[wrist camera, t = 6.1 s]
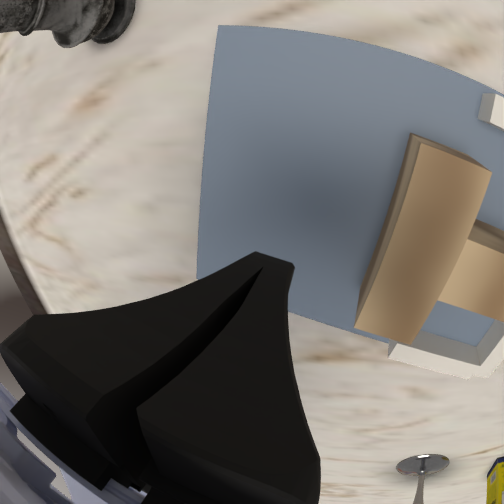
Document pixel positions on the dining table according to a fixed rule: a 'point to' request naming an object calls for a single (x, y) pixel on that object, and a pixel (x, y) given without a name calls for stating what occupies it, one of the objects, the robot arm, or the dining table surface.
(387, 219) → the t block
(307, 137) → the board
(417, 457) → the silver goblet
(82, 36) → the salt shaker
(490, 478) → the supplement box
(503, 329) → the dock
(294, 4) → the dining table surface
